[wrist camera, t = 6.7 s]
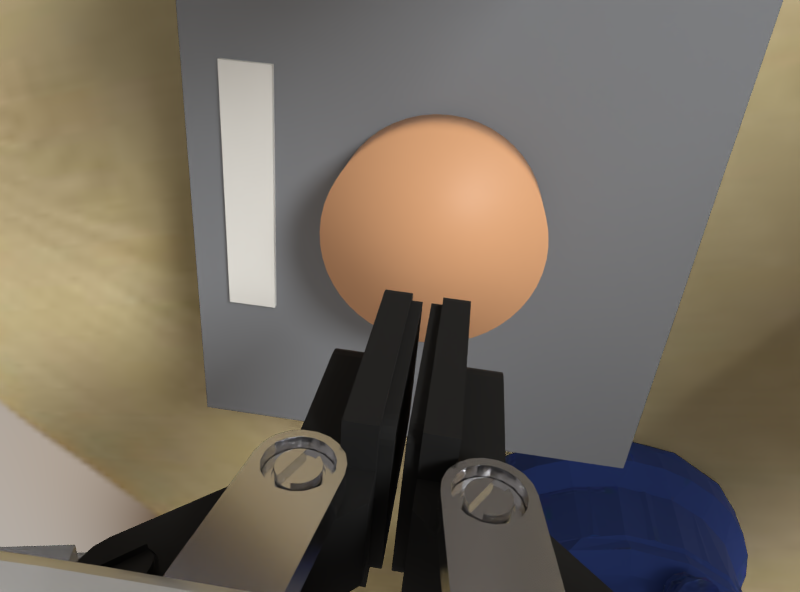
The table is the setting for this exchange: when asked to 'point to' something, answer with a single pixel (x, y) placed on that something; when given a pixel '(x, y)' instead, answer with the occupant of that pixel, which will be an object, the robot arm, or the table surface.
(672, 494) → the lantern
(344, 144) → the console
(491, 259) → the orange mushroom
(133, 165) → the table surface
